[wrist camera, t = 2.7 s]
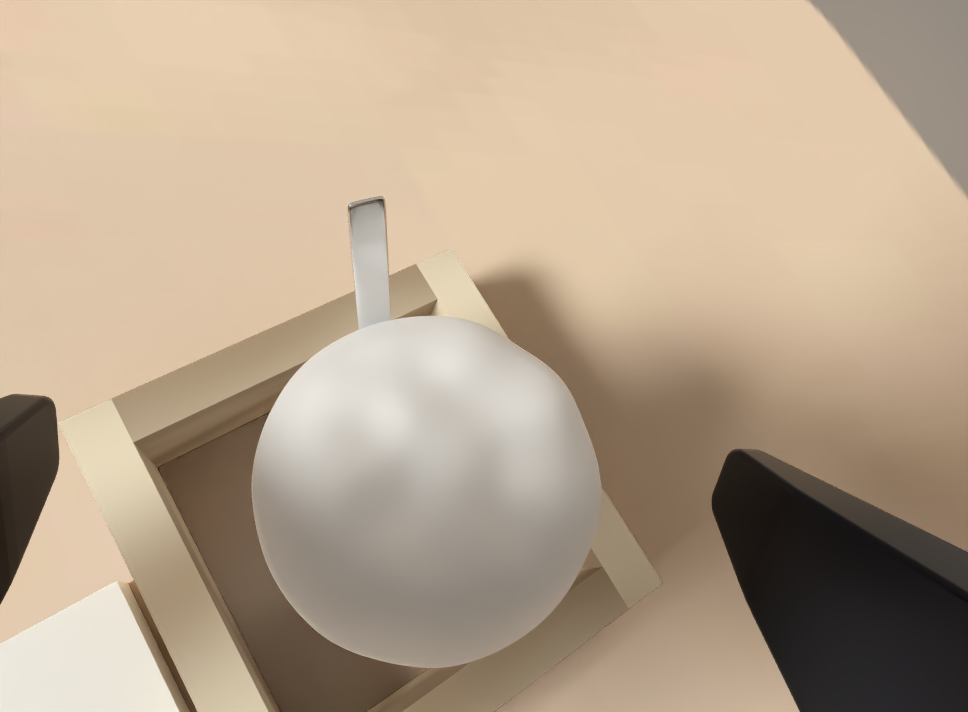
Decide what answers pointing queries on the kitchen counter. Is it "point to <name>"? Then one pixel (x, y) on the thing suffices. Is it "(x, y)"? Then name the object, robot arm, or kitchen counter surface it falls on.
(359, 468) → the milkshake
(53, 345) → the kitchen counter surface
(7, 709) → the pad
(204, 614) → the holder
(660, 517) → the kitchen counter surface
